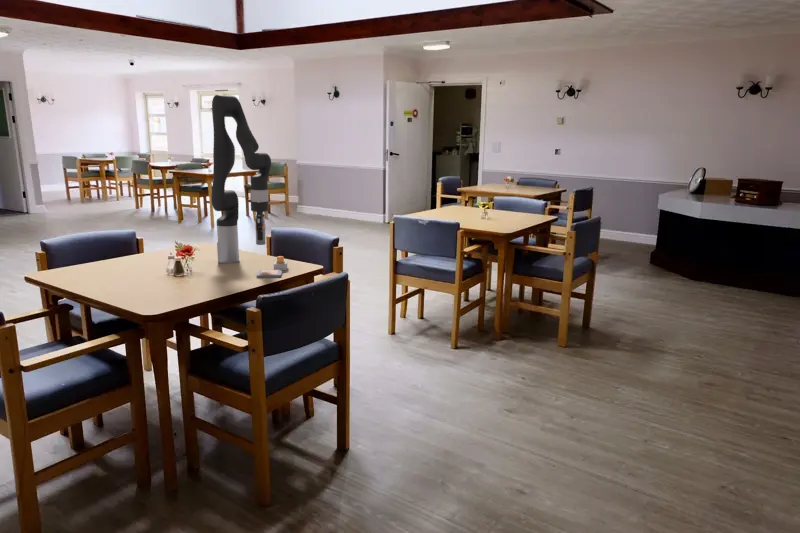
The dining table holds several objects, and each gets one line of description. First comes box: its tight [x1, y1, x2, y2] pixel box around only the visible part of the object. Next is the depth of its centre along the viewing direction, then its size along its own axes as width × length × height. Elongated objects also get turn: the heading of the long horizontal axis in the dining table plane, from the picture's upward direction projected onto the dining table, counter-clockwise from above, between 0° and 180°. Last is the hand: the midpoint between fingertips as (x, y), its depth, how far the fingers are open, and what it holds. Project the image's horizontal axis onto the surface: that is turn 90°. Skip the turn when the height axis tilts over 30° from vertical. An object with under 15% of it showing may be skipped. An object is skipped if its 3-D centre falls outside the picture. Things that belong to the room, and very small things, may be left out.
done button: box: [276, 255, 285, 264], centre depth 251 cm, size 3×3×3 cm
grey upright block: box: [254, 223, 266, 246], centre depth 247 cm, size 4×4×9 cm
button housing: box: [273, 260, 288, 271], centre depth 252 cm, size 6×6×3 cm
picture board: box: [256, 269, 283, 279], centre depth 242 cm, size 10×10×1 cm
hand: (260, 238), depth 248 cm, fingers closed on grey upright block, 4 cm apart
